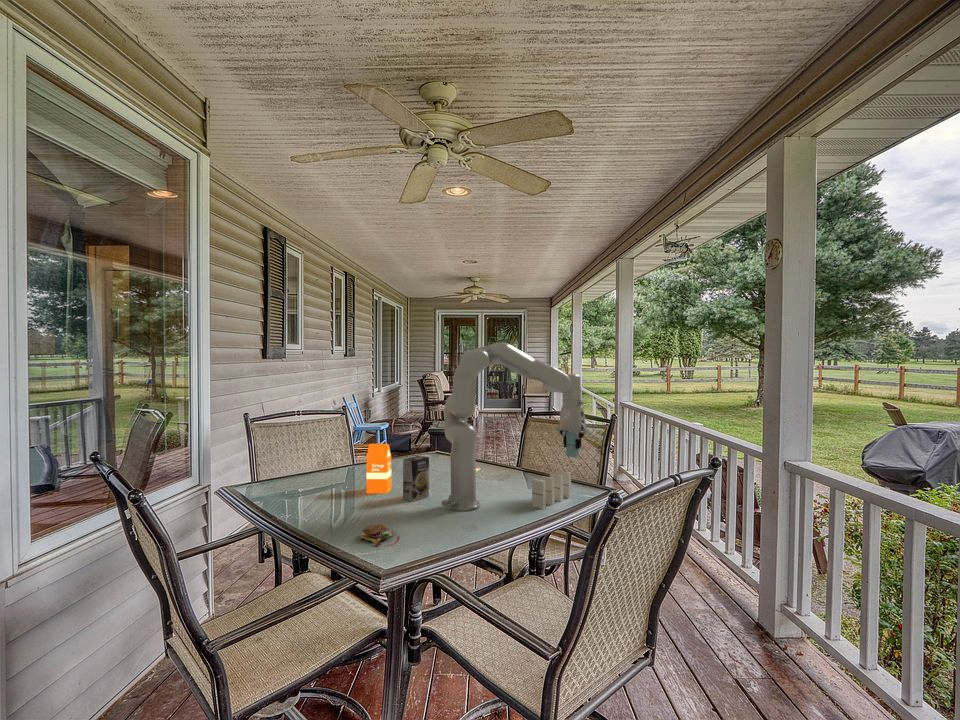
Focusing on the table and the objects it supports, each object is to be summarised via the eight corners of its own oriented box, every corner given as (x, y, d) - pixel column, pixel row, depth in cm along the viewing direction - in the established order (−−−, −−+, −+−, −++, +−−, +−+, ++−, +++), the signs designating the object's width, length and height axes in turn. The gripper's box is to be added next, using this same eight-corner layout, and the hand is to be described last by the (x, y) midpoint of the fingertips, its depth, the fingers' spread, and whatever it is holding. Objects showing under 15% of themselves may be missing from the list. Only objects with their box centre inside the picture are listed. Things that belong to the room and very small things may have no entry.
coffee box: (413, 502, 176) (413, 460, 177) (402, 499, 180) (402, 458, 180) (429, 496, 184) (429, 456, 184) (418, 493, 188) (418, 455, 188)
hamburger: (343, 544, 136) (343, 524, 136) (377, 529, 148) (377, 511, 148) (376, 554, 129) (375, 533, 129) (409, 538, 140) (409, 519, 140)
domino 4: (569, 498, 180) (568, 473, 180) (558, 495, 183) (558, 471, 183) (571, 497, 181) (571, 472, 181) (560, 494, 184) (560, 470, 185)
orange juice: (371, 488, 197) (371, 442, 197) (391, 488, 196) (391, 442, 197) (366, 493, 189) (366, 445, 189) (387, 493, 189) (387, 445, 189)
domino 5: (576, 457, 184) (576, 433, 185) (566, 456, 188) (565, 432, 188) (578, 457, 186) (578, 432, 186) (568, 455, 189) (568, 431, 189)
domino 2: (552, 505, 171) (551, 478, 171) (541, 502, 174) (541, 476, 174) (554, 504, 172) (554, 478, 172) (543, 501, 176) (543, 475, 176)
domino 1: (543, 508, 167) (542, 481, 167) (532, 506, 170) (531, 479, 170) (545, 507, 168) (545, 481, 168) (534, 505, 171) (534, 478, 171)
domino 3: (560, 501, 175) (560, 475, 175) (550, 499, 179) (549, 473, 179) (563, 500, 177) (562, 475, 177) (552, 498, 180) (552, 473, 180)
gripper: (594, 404, 184) (595, 448, 184) (559, 402, 195) (559, 444, 195) (585, 405, 178) (586, 451, 178) (549, 403, 190) (550, 446, 190)
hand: (572, 447), depth 187 cm, fingers closed on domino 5, 4 cm apart
